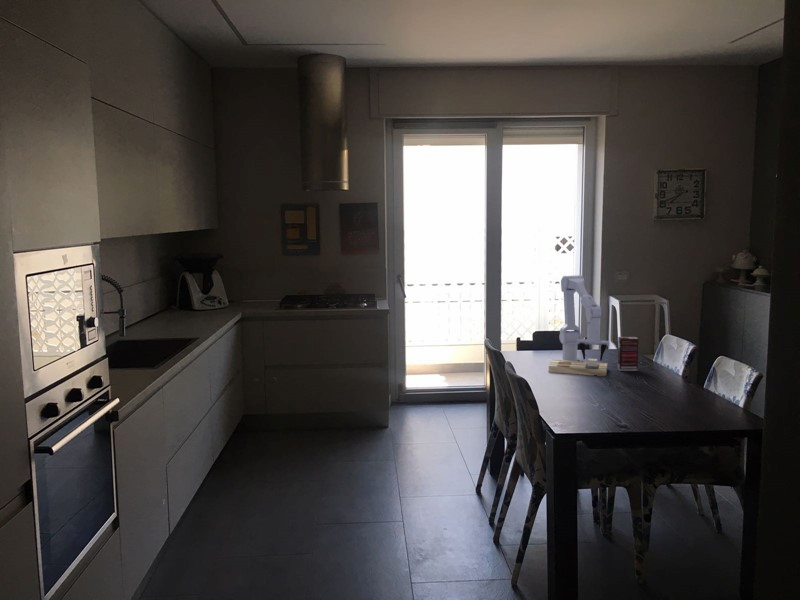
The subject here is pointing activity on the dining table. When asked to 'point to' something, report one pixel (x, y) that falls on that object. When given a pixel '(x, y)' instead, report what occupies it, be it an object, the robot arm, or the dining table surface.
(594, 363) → the plug
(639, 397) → the dining table surface
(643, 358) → the dining table surface
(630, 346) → the supplement box
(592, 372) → the socket block
